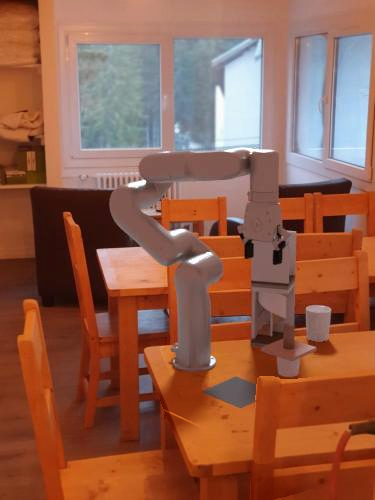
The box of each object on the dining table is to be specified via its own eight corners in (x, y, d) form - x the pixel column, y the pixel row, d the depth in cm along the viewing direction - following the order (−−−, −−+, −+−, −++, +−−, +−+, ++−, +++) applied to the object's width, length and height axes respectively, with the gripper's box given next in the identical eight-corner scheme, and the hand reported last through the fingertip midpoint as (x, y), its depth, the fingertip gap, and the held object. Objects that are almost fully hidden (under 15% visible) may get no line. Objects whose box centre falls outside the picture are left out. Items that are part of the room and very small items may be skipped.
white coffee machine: (250, 345, 219) (251, 235, 211) (258, 334, 229) (260, 229, 221) (286, 350, 215) (289, 238, 207) (293, 338, 225) (296, 231, 217)
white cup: (304, 342, 222) (305, 312, 219) (305, 333, 229) (305, 304, 227) (330, 343, 220) (331, 313, 218) (329, 335, 228) (330, 305, 226)
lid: (260, 351, 196) (260, 325, 194) (284, 341, 203) (285, 316, 202) (292, 361, 188) (293, 334, 186) (316, 350, 196) (317, 325, 194)
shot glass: (299, 380, 193) (300, 356, 192) (274, 378, 195) (275, 354, 193) (301, 370, 200) (301, 347, 198) (276, 368, 201) (277, 345, 200)
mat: (200, 393, 186) (200, 391, 186) (235, 377, 195) (235, 376, 195) (240, 409, 176) (240, 408, 176) (275, 392, 186) (275, 391, 185)
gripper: (229, 195, 187) (229, 258, 191) (281, 202, 175) (280, 269, 179) (247, 192, 192) (247, 253, 196) (299, 199, 180) (297, 263, 184)
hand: (262, 261), depth 188 cm, fingers open, 9 cm apart
